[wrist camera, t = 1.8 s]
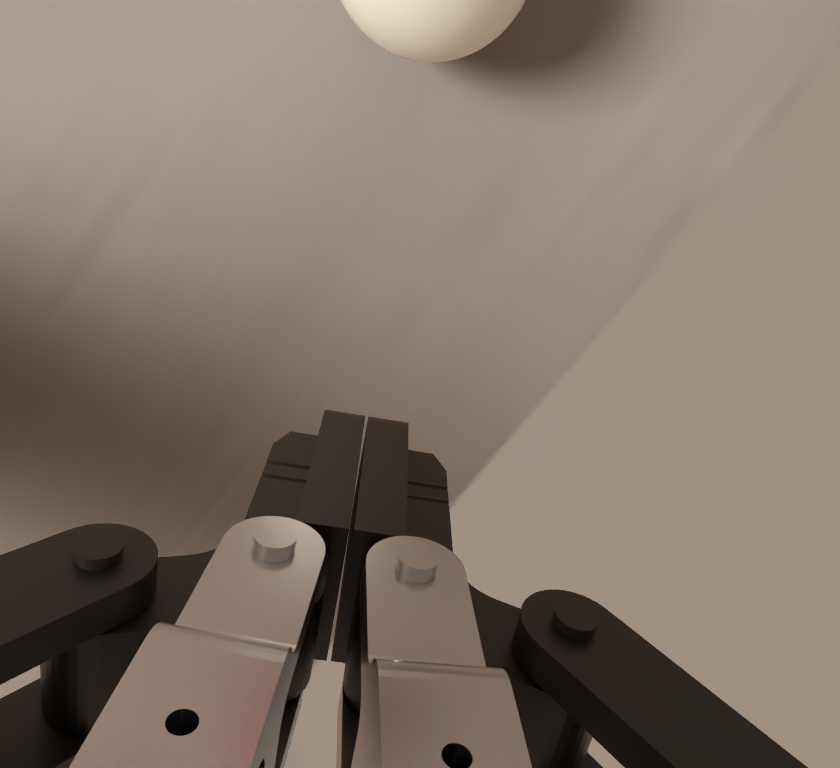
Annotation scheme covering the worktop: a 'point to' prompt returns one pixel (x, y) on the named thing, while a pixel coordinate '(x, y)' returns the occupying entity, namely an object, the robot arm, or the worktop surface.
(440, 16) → the ivory ball
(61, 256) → the worktop surface
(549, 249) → the worktop surface
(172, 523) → the worktop surface
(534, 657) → the robot arm
